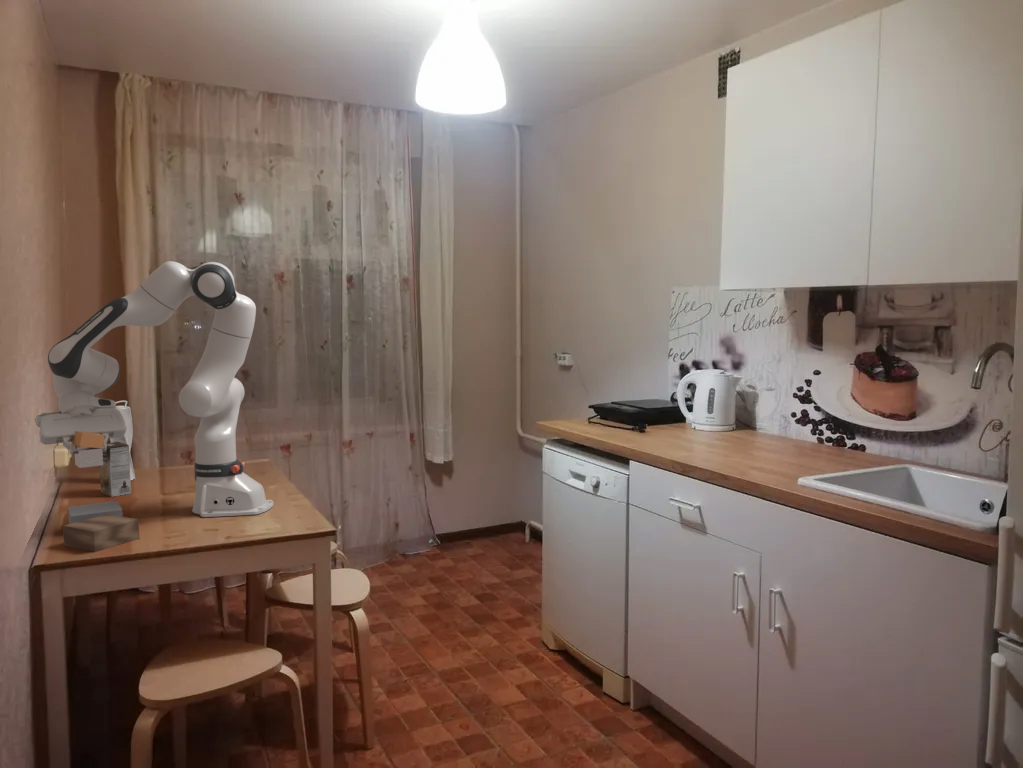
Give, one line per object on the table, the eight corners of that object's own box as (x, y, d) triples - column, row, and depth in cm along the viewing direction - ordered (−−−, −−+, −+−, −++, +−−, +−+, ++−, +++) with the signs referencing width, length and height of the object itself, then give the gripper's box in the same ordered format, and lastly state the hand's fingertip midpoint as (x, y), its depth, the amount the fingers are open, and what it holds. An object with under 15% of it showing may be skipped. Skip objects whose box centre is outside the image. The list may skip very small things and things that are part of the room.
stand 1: (118, 518, 212) (117, 500, 212) (123, 527, 202) (122, 509, 202) (69, 524, 206) (68, 506, 205) (71, 535, 196) (70, 516, 195)
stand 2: (108, 532, 198) (107, 514, 197) (139, 538, 192) (138, 519, 192) (64, 545, 187) (62, 525, 187) (95, 551, 182) (93, 531, 181)
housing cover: (95, 445, 202) (97, 432, 202) (102, 448, 198) (104, 435, 198) (72, 444, 198) (75, 430, 198) (79, 446, 194) (82, 433, 194)
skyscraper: (118, 479, 265) (113, 400, 262) (140, 479, 265) (136, 400, 262) (104, 484, 257) (99, 403, 254) (127, 484, 256) (122, 402, 254)
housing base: (98, 462, 203) (97, 445, 202) (103, 465, 198) (102, 448, 198) (75, 464, 199) (74, 447, 199) (79, 468, 195) (78, 450, 194)
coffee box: (100, 493, 243) (97, 443, 242) (121, 489, 248) (118, 441, 246) (111, 497, 237) (108, 447, 235) (132, 493, 242) (129, 444, 240)
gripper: (34, 406, 196) (43, 448, 189) (121, 400, 209) (132, 439, 202) (33, 421, 199) (42, 463, 193) (117, 414, 213) (128, 453, 206)
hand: (88, 451), depth 198 cm, fingers closed on housing base, 5 cm apart
